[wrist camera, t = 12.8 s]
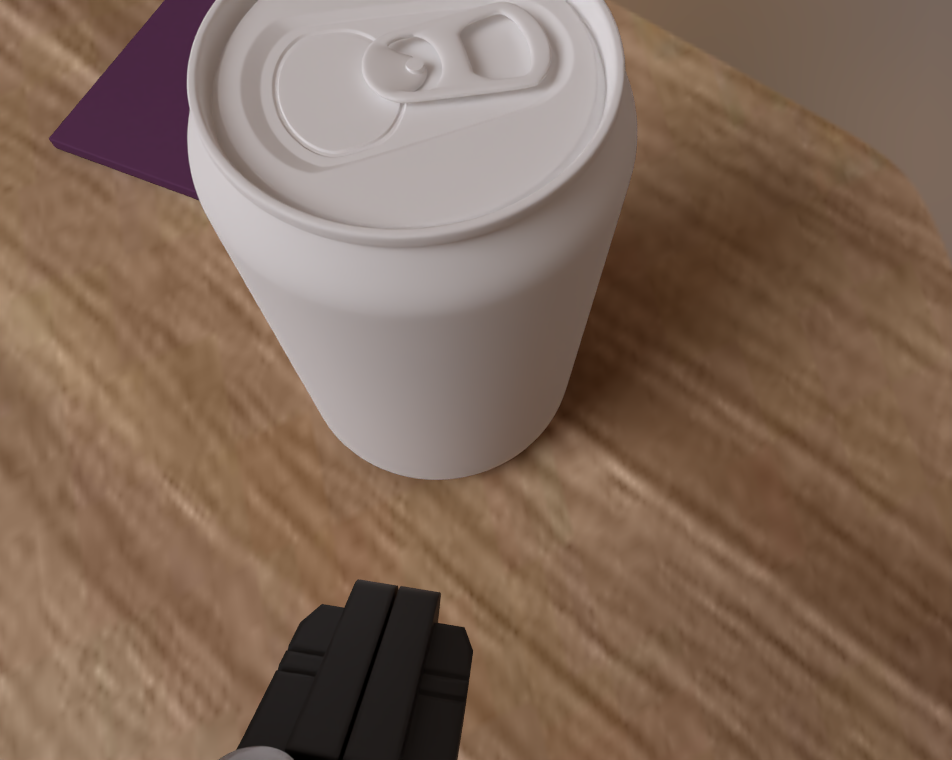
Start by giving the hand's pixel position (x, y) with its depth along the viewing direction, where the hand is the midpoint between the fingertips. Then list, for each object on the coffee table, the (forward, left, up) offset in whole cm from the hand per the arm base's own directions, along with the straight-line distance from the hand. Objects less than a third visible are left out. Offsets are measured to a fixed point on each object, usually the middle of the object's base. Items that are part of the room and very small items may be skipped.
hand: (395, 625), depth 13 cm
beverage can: (+3, -8, -7) cm, 11 cm away
